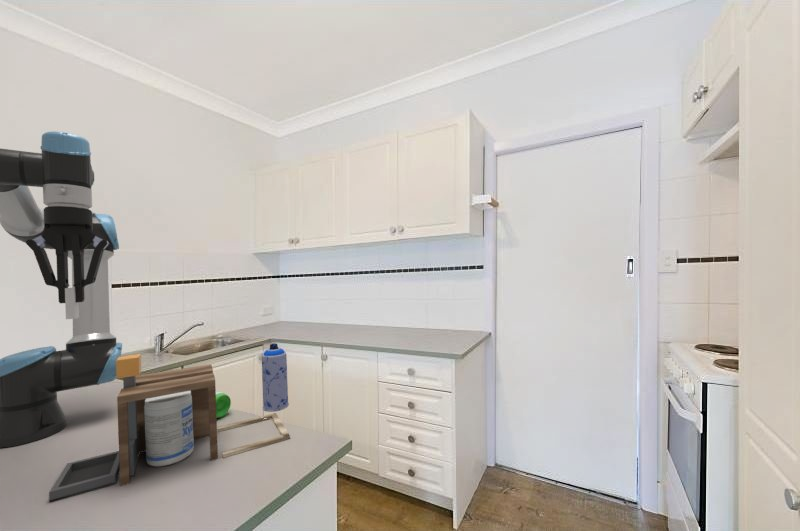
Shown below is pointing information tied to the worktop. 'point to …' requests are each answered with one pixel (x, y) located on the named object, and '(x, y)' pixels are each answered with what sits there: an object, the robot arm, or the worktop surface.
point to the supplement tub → (168, 428)
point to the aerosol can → (274, 379)
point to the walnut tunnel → (164, 384)
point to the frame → (262, 443)
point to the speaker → (222, 404)
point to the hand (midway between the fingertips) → (72, 318)
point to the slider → (128, 371)
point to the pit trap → (86, 476)
